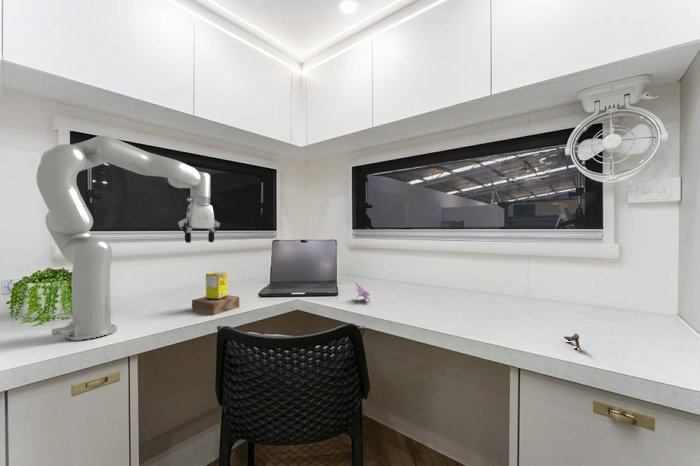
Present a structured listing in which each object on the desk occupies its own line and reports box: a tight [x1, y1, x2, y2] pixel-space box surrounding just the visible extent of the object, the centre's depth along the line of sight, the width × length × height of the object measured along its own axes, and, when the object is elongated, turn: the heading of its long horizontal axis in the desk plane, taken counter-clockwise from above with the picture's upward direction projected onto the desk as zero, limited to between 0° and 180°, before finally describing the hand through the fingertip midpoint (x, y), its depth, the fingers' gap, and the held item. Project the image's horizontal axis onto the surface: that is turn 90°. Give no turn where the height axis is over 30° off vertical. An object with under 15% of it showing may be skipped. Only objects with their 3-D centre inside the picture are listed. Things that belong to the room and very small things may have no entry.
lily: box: [354, 281, 371, 303], centre depth 143 cm, size 11×11×9 cm
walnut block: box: [191, 294, 240, 316], centre depth 130 cm, size 13×13×5 cm
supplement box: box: [205, 271, 228, 300], centre depth 129 cm, size 6×6×11 cm
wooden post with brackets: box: [563, 333, 581, 349], centre depth 90 cm, size 2×8×5 cm, turn 163°
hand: (199, 242), depth 130 cm, fingers open, 9 cm apart
